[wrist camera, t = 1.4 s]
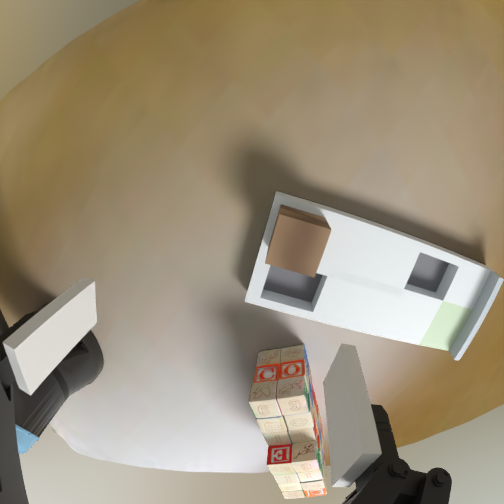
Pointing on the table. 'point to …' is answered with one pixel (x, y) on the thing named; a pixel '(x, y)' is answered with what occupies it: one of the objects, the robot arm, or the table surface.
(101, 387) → the table surface
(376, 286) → the box
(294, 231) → the walnut block
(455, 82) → the table surface
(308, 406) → the stack of blocks
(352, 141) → the table surface
